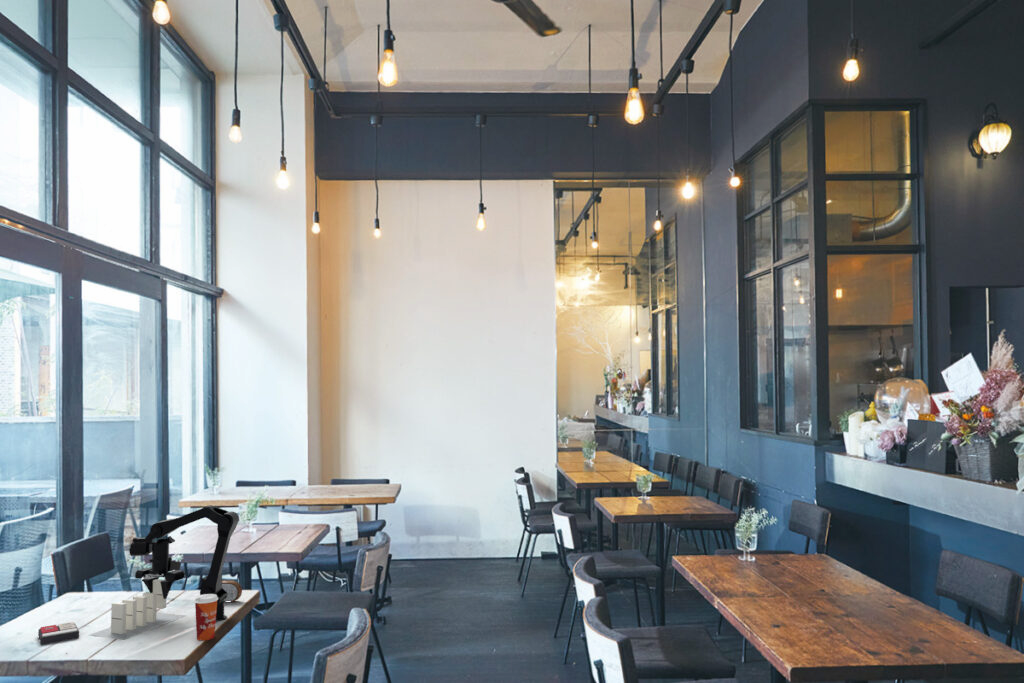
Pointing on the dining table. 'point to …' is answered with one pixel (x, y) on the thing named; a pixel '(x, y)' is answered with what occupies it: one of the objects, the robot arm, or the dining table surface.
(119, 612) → the domino
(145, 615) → the domino
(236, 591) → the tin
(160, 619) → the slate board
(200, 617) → the paper cup
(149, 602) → the domino
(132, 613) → the domino
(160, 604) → the domino
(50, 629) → the black and red box
